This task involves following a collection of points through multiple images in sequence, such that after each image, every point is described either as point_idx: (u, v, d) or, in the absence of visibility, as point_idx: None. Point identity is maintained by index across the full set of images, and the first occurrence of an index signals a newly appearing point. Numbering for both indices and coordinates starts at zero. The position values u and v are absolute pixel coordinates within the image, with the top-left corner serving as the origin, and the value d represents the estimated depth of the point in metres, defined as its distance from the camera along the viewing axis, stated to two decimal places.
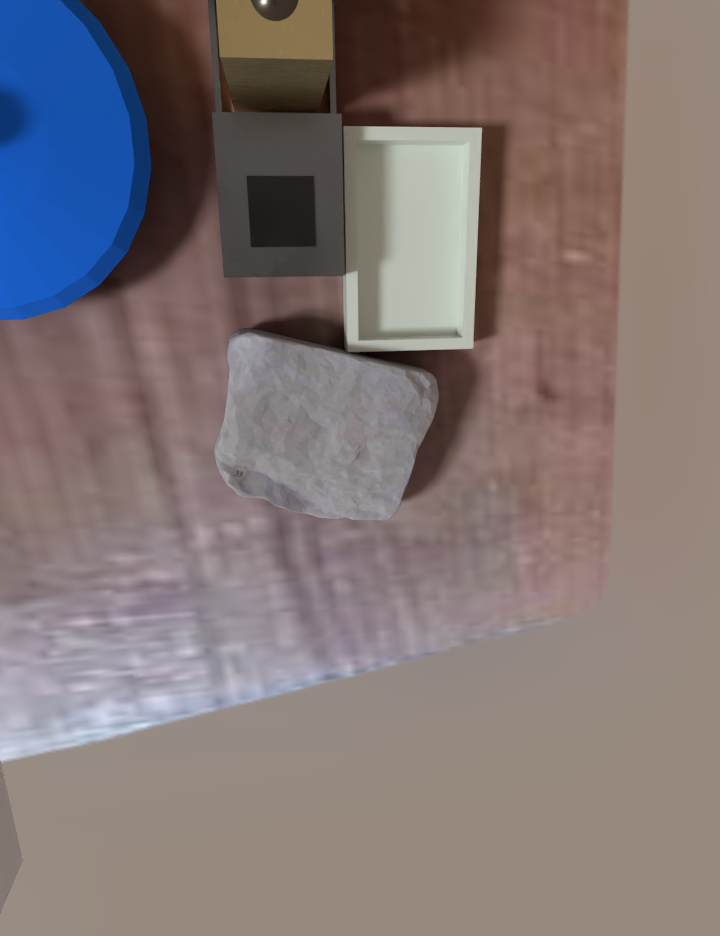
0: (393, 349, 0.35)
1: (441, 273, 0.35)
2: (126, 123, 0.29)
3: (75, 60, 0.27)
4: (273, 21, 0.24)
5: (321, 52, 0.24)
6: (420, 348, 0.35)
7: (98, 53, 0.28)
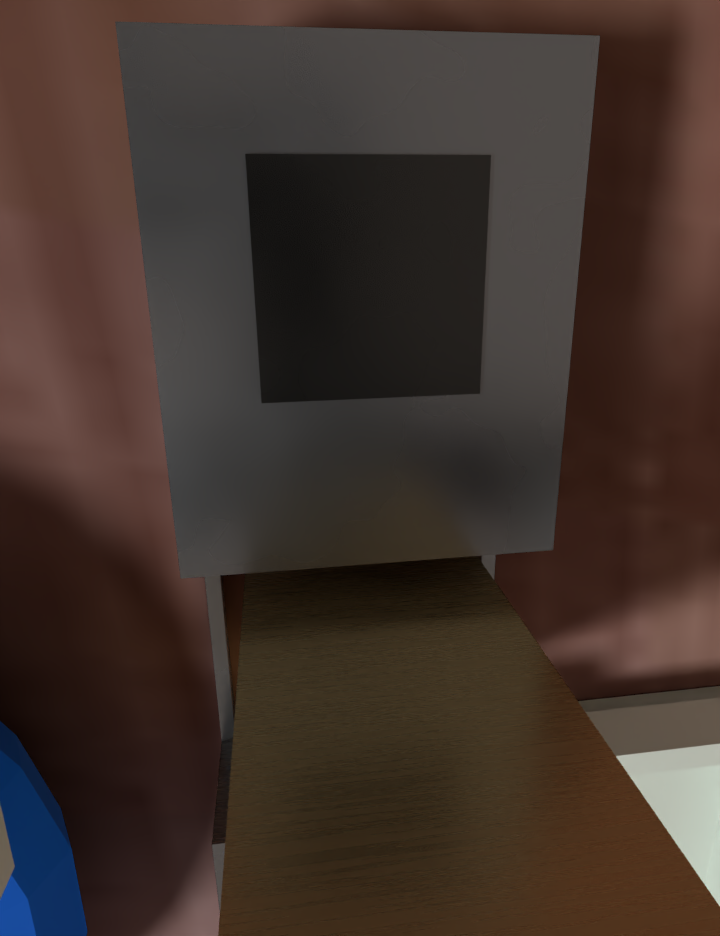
0: None
1: None
2: (20, 914, 0.11)
3: None
4: None
5: None
6: None
7: None
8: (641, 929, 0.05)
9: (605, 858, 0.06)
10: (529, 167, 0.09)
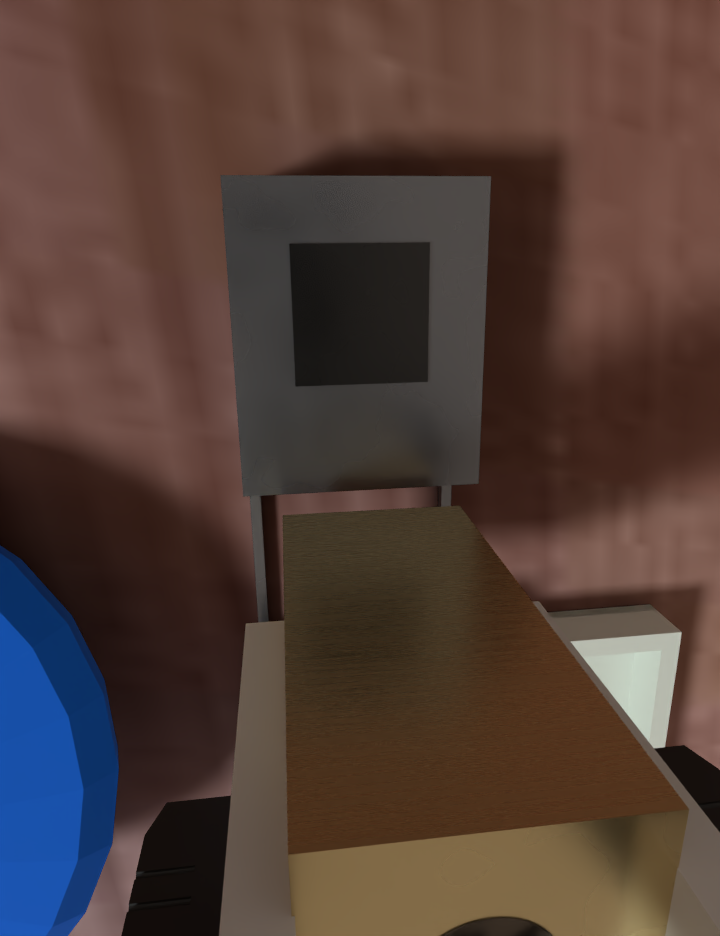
0: None
1: None
2: (64, 729, 0.15)
3: None
4: None
5: None
6: None
7: (6, 623, 0.15)
8: (605, 791, 0.07)
9: (581, 749, 0.08)
10: (453, 248, 0.15)
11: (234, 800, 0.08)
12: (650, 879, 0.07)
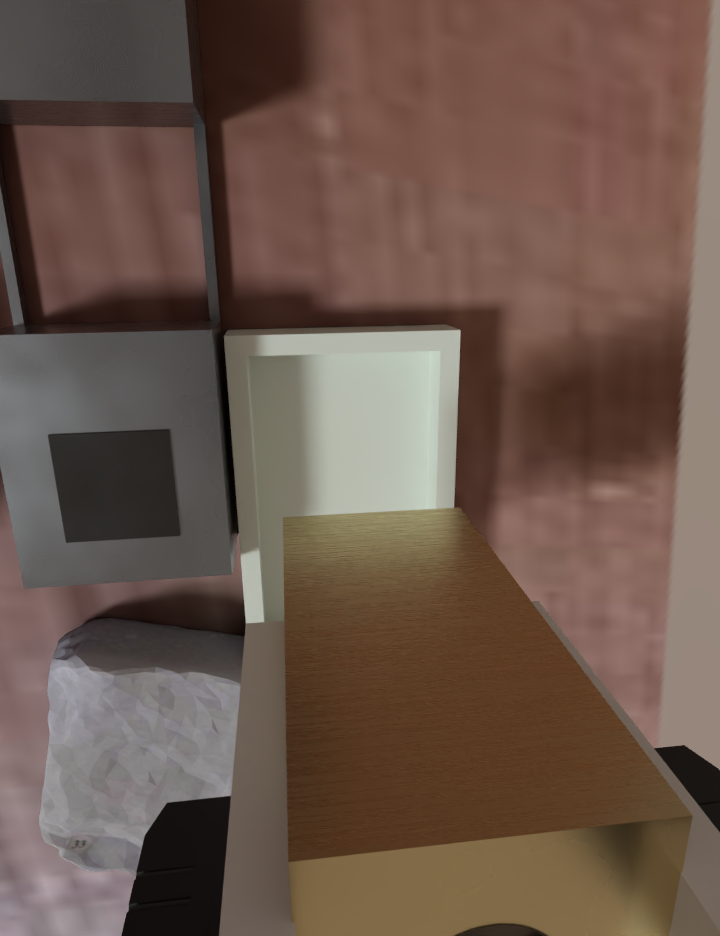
0: None
1: None
2: None
3: None
4: None
5: None
6: None
7: None
8: (608, 797, 0.07)
9: (583, 754, 0.07)
10: None
11: (234, 800, 0.08)
12: (653, 886, 0.07)
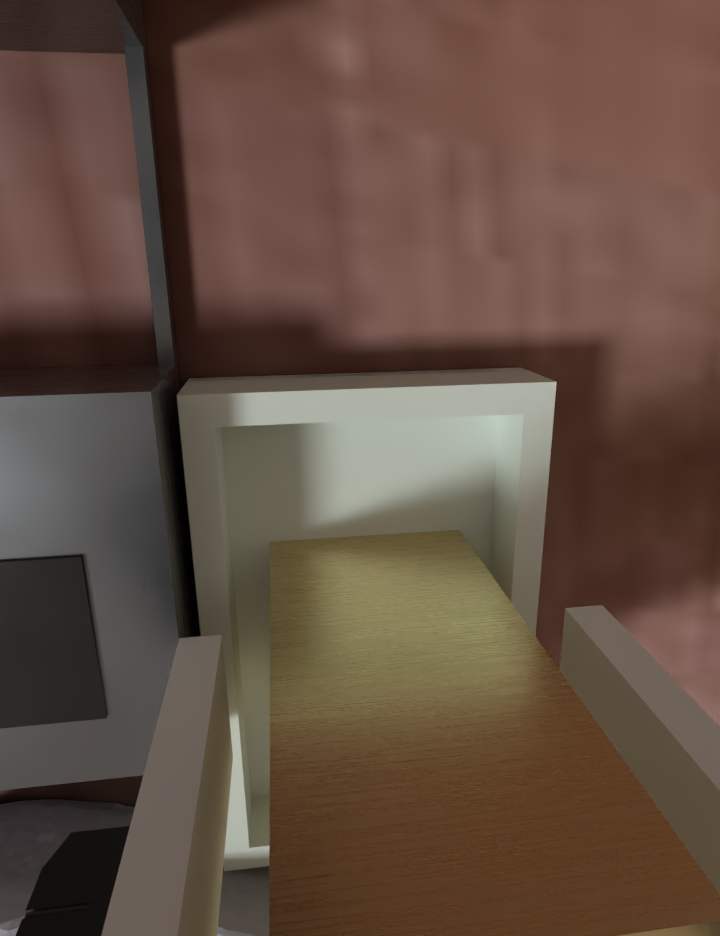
0: None
1: None
2: None
3: None
4: None
5: None
6: None
7: None
8: (638, 894, 0.06)
9: (606, 836, 0.07)
10: None
11: (132, 833, 0.07)
12: None
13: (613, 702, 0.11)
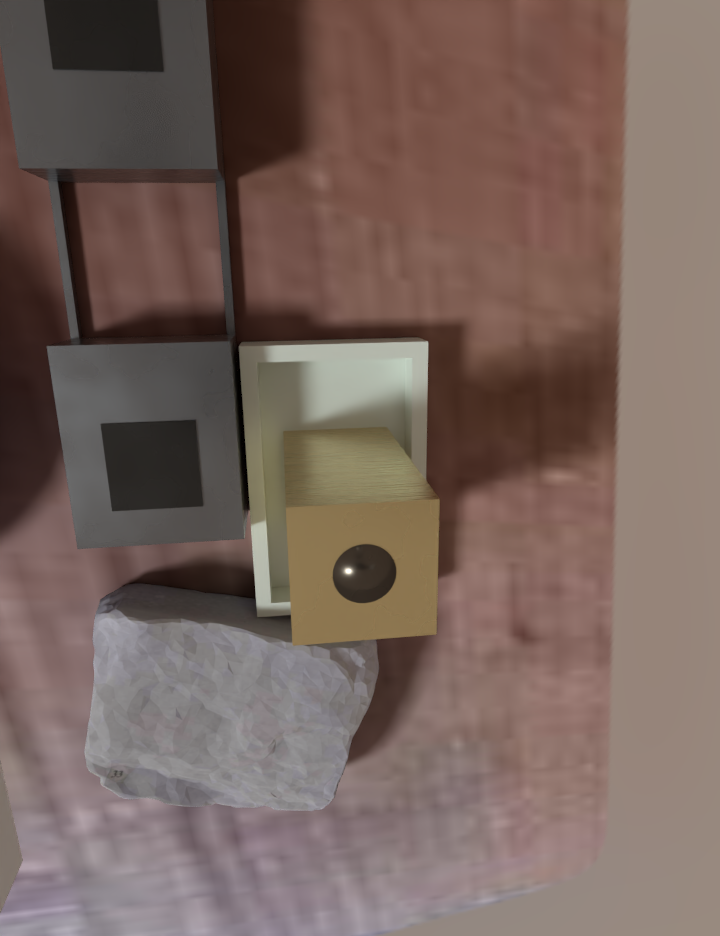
0: None
1: None
2: None
3: None
4: (362, 600, 0.18)
5: (422, 628, 0.19)
6: None
7: None
8: (409, 496, 0.18)
9: (406, 489, 0.18)
10: None
11: None
12: (428, 531, 0.18)
13: None
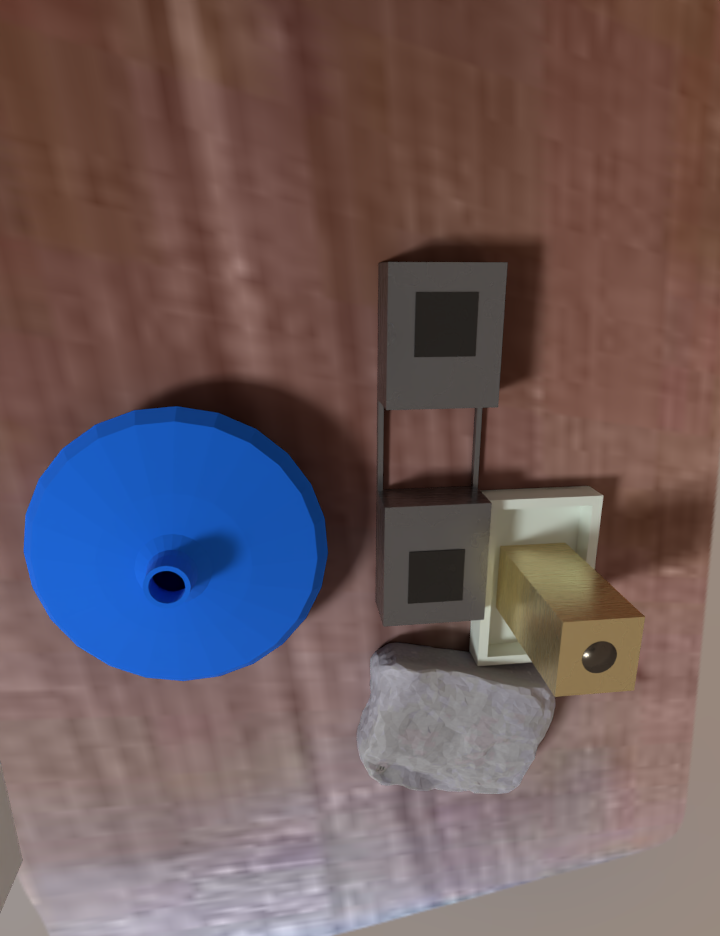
0: (516, 662, 0.40)
1: None
2: (252, 448, 0.32)
3: (191, 448, 0.31)
4: (595, 671, 0.32)
5: (626, 687, 0.32)
6: None
7: (197, 427, 0.32)
8: (626, 614, 0.31)
9: (620, 607, 0.32)
10: (489, 294, 0.32)
11: None
12: (636, 633, 0.31)
13: None
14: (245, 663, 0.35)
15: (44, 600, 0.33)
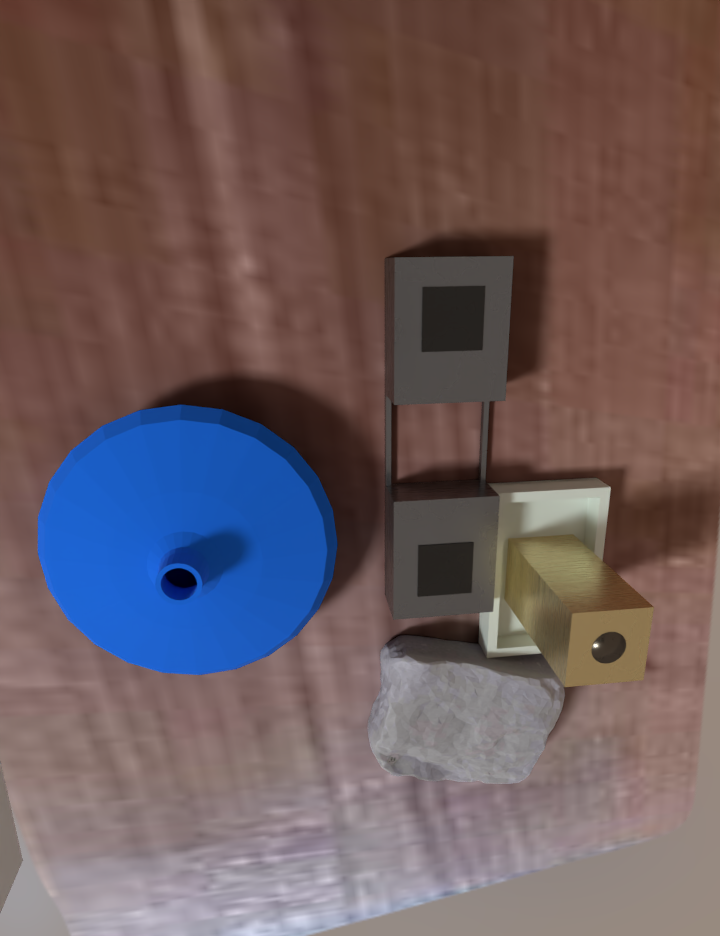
0: (525, 653, 0.40)
1: None
2: (258, 443, 0.32)
3: (197, 446, 0.32)
4: (605, 661, 0.32)
5: (635, 676, 0.32)
6: None
7: (202, 424, 0.32)
8: (635, 604, 0.32)
9: (629, 598, 0.32)
10: (495, 288, 0.32)
11: None
12: (645, 624, 0.32)
13: None
14: (260, 656, 0.36)
15: (60, 600, 0.34)
